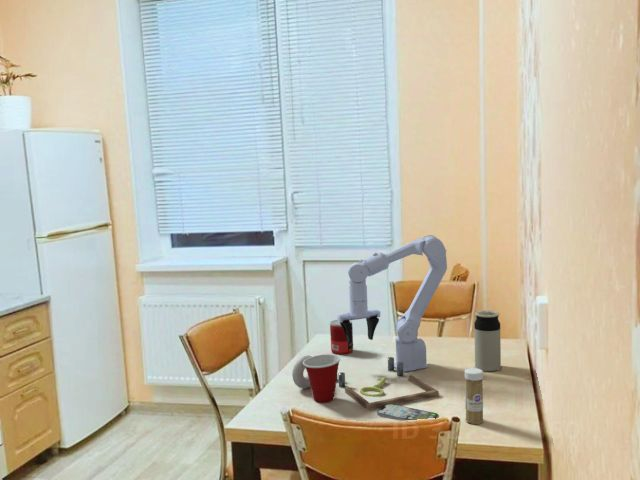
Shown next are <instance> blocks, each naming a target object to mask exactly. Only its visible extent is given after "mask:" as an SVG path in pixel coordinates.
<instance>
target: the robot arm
mask: <svg viewBox="0 0 640 480" xmlns="http://www.w3.org/2000/svg"><path fill="white" fill-rule="evenodd" d="M423 254H424V255H425V256H426V258H427V262H428V264H429V266H430V268H429V269H428V271H427V274H426V275H425V277H424V279H423V280H422V283H421V284H420V286H419V288H418V290H417V292H416V294H415V296H414V298H413V300H412V302H411V304H410V305H409V308H408V309H407V310H406V311H405V312H404V313H403V315H402V317H400V318H399V319H398V320H397V321H396V322H395V330H396V333H397V336H396V338H395V359H396V361H395V362H394V369H397V363H398V362H402V363H403V373H404V372H410V371H415V370H420V369H421V370H422V369H426V368H427V369H428V368H429V366H428V364H427V344H426V342H425V341H424V339H422V338H419V337H418V336H419V328H420V326H421V322H422V319H423V316H424V314H425V312H426V310H427V308H428V306H429V305H430V302H431V301H432V299H433V296H434V295H435V293H436V291H437V289H438V288H439V285H441V284H440V283H441V281H442V280H443V279H444V276H445V274H446V272H447V270H448V264H447V263H448V261H447V249H446V247H445V245H444V243H443V242H442V240H441V239H439V238H438V237H436V236H435V235H432V234H427V235H425V236H423V237H419V238H417V239H414V240H411V241H409V242H408V243H405V244H404V245H401V246H399V247H398V248H396V249H394V250H391V251H390V252H389V251H388V252H387V253H383V252H378V253H377V252H376V251H375V252H373V253H372V256H369V257H367V258H364V259H359V260H358V261H359V262H354V263H351V264H350V266H349V267H348V270H347V273H348V277H349V281H348V283H349V286H348V289H349V292H348V294H349V312H347V313H343V314H338V315H336V316H337V319H336V320H338V322H340V324H341V326H342V328H343V330H344V332H345V335H346V339H347V342H348V343H352V336H351V331H352V329H353V323H352V324H351V323H350V322H349V321H356V320H362V319H365V320H366V325H367V338H368V340H370V341H373V340H374V335H375V330H376V328H377V326H378V324H379V322H380V319H379V318H380V317H381V311H380V310H378V309H374V310H368V309H369V307H368V286H367V281H366V280H367V277H371V276H374V275H376V274H379V273H381V272H383V271H385V270H387V269H388V268H389V266H390V264H391V263H393V262H396V261H399V260H401V259H404V258H407V257H408V256H411V255H417V256H423Z"/></svg>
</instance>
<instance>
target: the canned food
mask: <svg viewBox="0 0 640 480" xmlns="http://www.w3.org/2000/svg"><path fill="white" fill-rule="evenodd" d="M349 322H350V323H351V324H352V325H353V320H350V321H349ZM353 329H354V328H352V331H351V336H352V343H348V342H347V339H346V335H345V332H344V330H343V328H342V326H341V324H340V322H338V319H335V320H331V321H330V323H329V330H330V333H329V334H330V350H331V353H332V354H333V355H337V356H340V355H341V356H342V355H343V356H345V355H350V354H352V353H353V351H354V336H353V335H354V334H353V333H354V332H353V331H354V330H353Z"/></svg>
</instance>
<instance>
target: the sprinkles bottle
mask: <svg viewBox="0 0 640 480" xmlns="http://www.w3.org/2000/svg"><path fill="white" fill-rule="evenodd" d="M483 379H484V371H482V370H480V369H477V368H476V367H469V368H466V369H465V370H464V380H465V384H464V385H465V388H464V389H465V391H464V393H465V394H464V395H465V396H464V398H465V399H464V402H465V408H464V409H465V421H466V423H468V424H473V425H479V424H482V423H483V422H484V391H483V390H484V389H483V388H484V387H483Z"/></svg>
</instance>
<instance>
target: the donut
mask: <svg viewBox="0 0 640 480" xmlns="http://www.w3.org/2000/svg"><path fill="white" fill-rule="evenodd" d="M309 357H313V356H311V355H310V354H308V355H307V354H306V355H303V356H301V357H299V358H298V359H297V360H296V362H295V363H294V364H293V368H292V374H291V376H292V380H293V382H294V385H295V386H297V387H298V388H300V389H308V388H311V386H310V381H309V377H308V373H307V374H306V375H304V373H305V372H304V371H306V367H305V366H304V365H303V361H304V360H305V359H307V358H309Z"/></svg>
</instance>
